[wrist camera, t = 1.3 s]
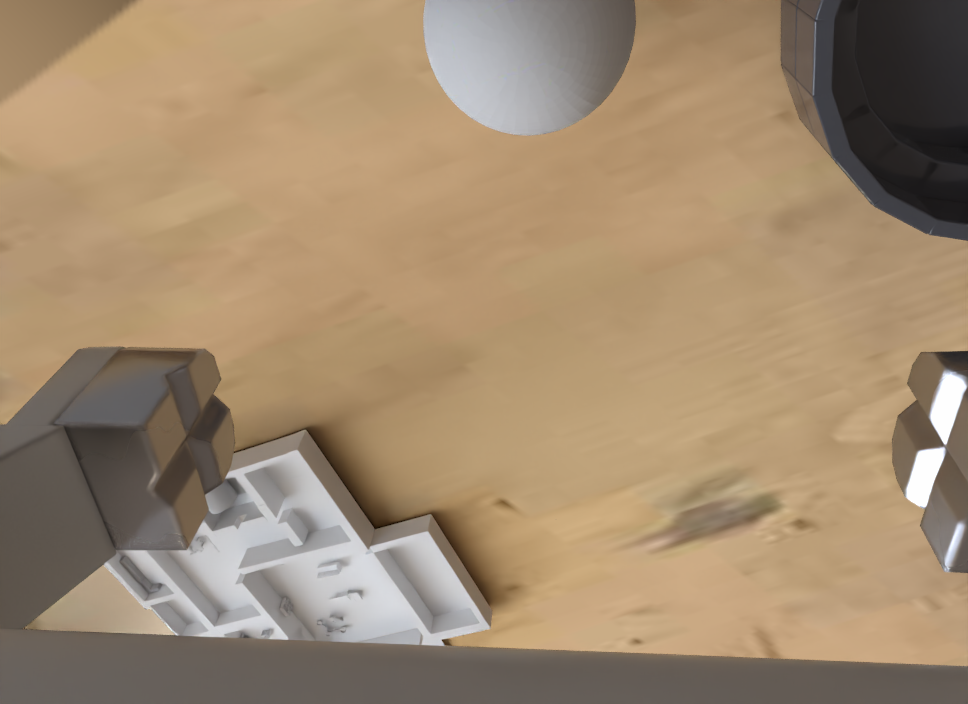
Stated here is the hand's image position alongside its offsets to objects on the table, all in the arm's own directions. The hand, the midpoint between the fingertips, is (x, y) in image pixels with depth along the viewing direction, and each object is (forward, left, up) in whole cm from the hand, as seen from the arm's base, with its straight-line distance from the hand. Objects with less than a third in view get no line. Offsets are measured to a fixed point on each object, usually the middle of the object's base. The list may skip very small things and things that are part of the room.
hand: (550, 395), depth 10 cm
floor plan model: (+3, -31, -23) cm, 39 cm away
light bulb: (-1, +1, -23) cm, 23 cm away
